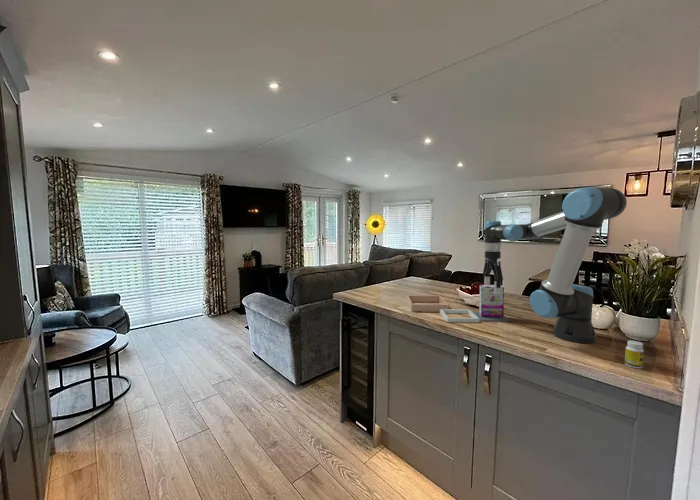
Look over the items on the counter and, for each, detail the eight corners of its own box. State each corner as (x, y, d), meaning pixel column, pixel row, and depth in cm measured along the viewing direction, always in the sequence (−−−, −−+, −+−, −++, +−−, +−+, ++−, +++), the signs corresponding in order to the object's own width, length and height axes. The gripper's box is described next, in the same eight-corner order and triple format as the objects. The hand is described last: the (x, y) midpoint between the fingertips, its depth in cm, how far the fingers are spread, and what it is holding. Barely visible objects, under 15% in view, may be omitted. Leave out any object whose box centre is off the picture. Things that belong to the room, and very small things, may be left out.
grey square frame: (479, 322, 154) (479, 318, 154) (447, 322, 155) (447, 318, 155) (469, 313, 170) (469, 309, 170) (439, 312, 171) (439, 309, 171)
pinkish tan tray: (448, 311, 173) (449, 304, 173) (411, 311, 174) (411, 304, 174) (440, 301, 195) (440, 295, 194) (406, 301, 196) (406, 295, 196)
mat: (510, 321, 155) (510, 320, 155) (481, 321, 156) (482, 320, 156) (498, 313, 169) (498, 312, 169) (472, 313, 170) (472, 311, 170)
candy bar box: (500, 314, 164) (501, 284, 163) (503, 317, 159) (504, 286, 158) (478, 314, 166) (479, 284, 165) (480, 317, 161) (481, 286, 160)
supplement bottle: (642, 370, 104) (644, 346, 103) (623, 365, 107) (625, 342, 107) (643, 365, 107) (645, 342, 106) (625, 361, 111) (626, 338, 110)
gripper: (511, 252, 147) (510, 296, 148) (490, 249, 172) (490, 286, 173) (494, 252, 147) (494, 296, 149) (476, 249, 172) (476, 286, 174)
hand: (492, 291), depth 161 cm, fingers open, 13 cm apart
